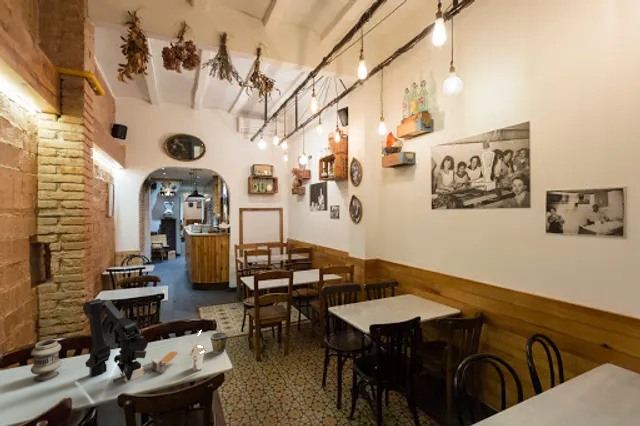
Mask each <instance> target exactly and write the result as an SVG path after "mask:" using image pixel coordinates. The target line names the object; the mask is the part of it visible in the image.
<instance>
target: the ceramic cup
mask: <svg viewBox="0 0 640 426" xmlns="http://www.w3.org/2000/svg"><path fill="white" fill-rule="evenodd" d="M209 337H210V338H209V339H210V342H211V346H212V352H213V354H215V355H220V354H222V353H224V352H225V351H224V350H226V344H227V340H228V339H227V338H228V333H226V332H222V331H220V332H219V331H218V332H214V333H212V334H211V335H210V336H209Z"/></svg>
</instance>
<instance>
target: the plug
mask: <svg viewBox="0 0 640 426" xmlns="http://www.w3.org/2000/svg"><path fill="white" fill-rule="evenodd" d="M142 366H143V365H141V368H140V369H137V370H135V371H133V373H132V376H131V379H130V380H129V381H133V380H137V379H139V377H140V378H142V377H143V373H144V372H143V370H144V369H143V367H142ZM122 380H123V381H125V382H126V383H127V382H128V383H129V381H128V380H127V378H126V376H125V373H124V371H123V375H122V376H121V375H120V376H118V377H116V378H113V379H112V383H113V384H114V383H117V382H119V381H122Z"/></svg>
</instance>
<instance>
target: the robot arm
mask: <svg viewBox="0 0 640 426" xmlns="http://www.w3.org/2000/svg"><path fill="white" fill-rule="evenodd" d="M82 309H83V314H84V315H85V316H86V317H87V318H88V321H89V327H90V336H91V342H92V343H91V344H92V347H91V348H90V349H91V350H90V351H89V358H88V359H87V360H86V361H85V367H86V368H88V369H89V374H88V376H90V377H91V378H92V377H98V376H100V375H103V374H104V373H106V372H107V371H108V370H107V363H106V362H108V361H109V360H110V359H109V358H110V356H111V353H112V351H111V346H110V345H109V344H107V343H105V338H104V330H103V329H104V328H103V322H102V314H103V313H104V314H105V315H106V316H107V318H109V320H110V321H111V322H112V323H113V324H114V325H115V331H116V333H117V334H118V337H117V338H116V339H117V340H120V349H119V351H118V353H119V354H117V355H115V356H114V357H113V362H114V363H115V364H116V365H117V367H118V369H119V370H120V372H121V374H123V371H124V373H125V376H126V378H127V380H128V382H129V380H130V379H131V376H132V373H133V371H135V370H137V369H140V368H141V366H142V363H141V362H139V360H137V359H145V358H146V355H147V350H146V349H147V347H148V345H149V341H148V340H147V338H145V336H143V335H141V334H142V333H141V330H140V329H139V327H138V326H137V324H136V323H135V321H133V320H132V319H130V318H127V317H125V316H124V315H123V314H122V313H121V312H120V310H118V308H117V307H116V306H115V305H114V304H113V302H112V300H111V299H100V298H95V299H93V300H92V299H91V300H89V301H86V302H84V304H83V305H82ZM130 381H131V380H130Z"/></svg>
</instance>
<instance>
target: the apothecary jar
mask: <svg viewBox="0 0 640 426" xmlns="http://www.w3.org/2000/svg"><path fill="white" fill-rule="evenodd" d="M61 349H62V345H61V344H60V343H59V342H58V340H57V339H45V340H42V341H39V342H37V343H36V344H35V346H34V348H33V349H32V350H31V352H30V356H31V357H32V358H33V365H31V368H30V372H31V373H32V374H33V375H36V376H35V377H34V378H33V381H34V382H36V383H39V382H46V381H50V380H52V379H53V380H54V379H55V378H56V377H58V376H59V374H60V372H59V371H57V370H58V369H59V368H60V367H61V365H63V364H62V363H63V361H62V359H61V358H59V357H60V356H59V352H60V350H61Z"/></svg>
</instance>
